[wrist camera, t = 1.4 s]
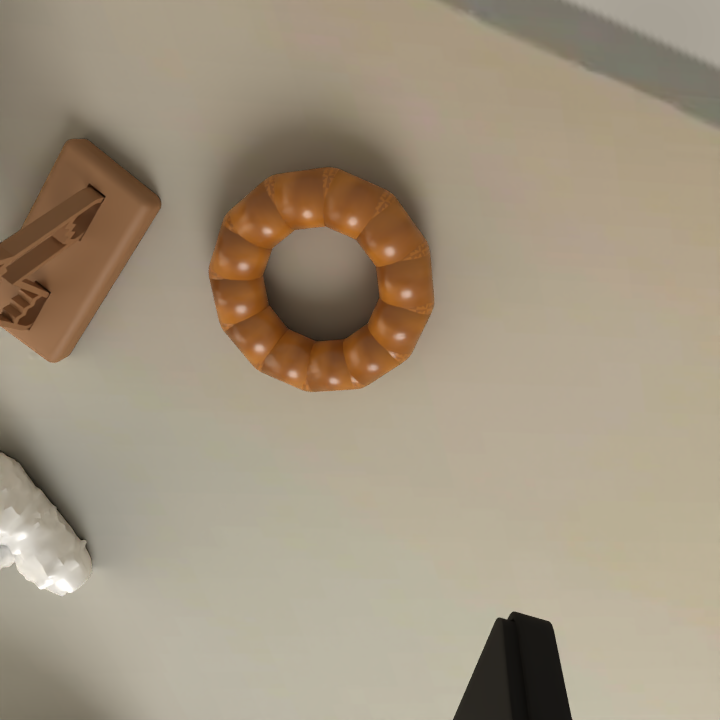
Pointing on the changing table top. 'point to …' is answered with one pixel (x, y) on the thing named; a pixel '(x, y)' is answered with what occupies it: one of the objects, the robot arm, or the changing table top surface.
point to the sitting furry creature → (38, 535)
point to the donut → (352, 218)
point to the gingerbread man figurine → (71, 248)
